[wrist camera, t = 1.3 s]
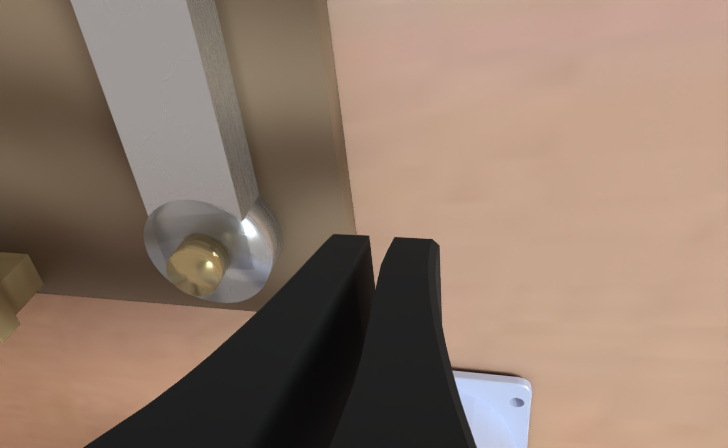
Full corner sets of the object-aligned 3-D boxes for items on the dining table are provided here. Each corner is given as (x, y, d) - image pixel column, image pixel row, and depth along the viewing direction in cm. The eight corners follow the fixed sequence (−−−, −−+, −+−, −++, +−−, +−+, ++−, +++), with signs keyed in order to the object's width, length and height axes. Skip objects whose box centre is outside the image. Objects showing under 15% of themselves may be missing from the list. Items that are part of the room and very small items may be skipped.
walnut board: (365, 300, 23) (338, 388, 20) (-88, 265, 27) (-168, 332, 24) (301, -199, 14) (234, -183, 11) (-350, -129, 19) (-529, -104, 15)
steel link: (292, 278, 21) (268, 330, 19) (183, 270, 22) (150, 319, 20) (194, -185, 13) (139, -173, 12) (32, -168, 14) (-43, -155, 12)
